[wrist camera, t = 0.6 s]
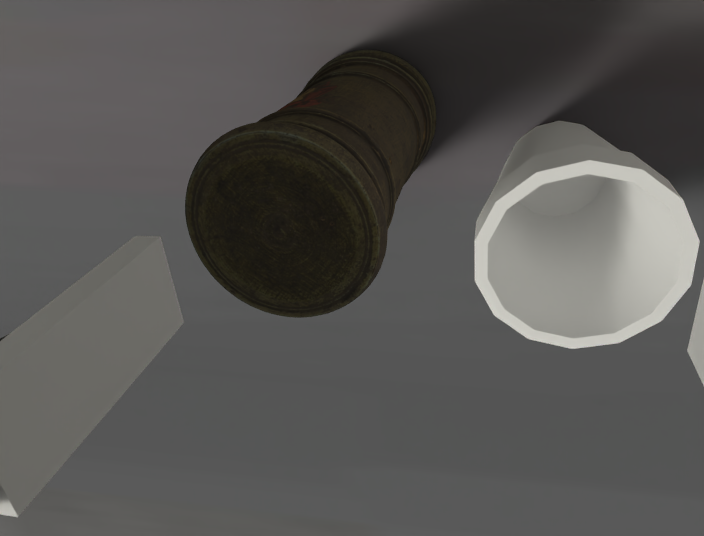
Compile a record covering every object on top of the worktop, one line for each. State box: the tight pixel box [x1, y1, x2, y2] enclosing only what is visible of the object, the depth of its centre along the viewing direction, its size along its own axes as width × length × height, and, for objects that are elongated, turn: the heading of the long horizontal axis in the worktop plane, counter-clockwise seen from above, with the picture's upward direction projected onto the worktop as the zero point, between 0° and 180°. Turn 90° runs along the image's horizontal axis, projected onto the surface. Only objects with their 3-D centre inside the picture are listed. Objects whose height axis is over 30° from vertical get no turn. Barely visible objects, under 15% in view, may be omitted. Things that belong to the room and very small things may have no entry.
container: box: [185, 50, 436, 317], centre depth 30 cm, size 9×9×18 cm
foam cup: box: [475, 121, 700, 349], centre depth 31 cm, size 10×9×13 cm
